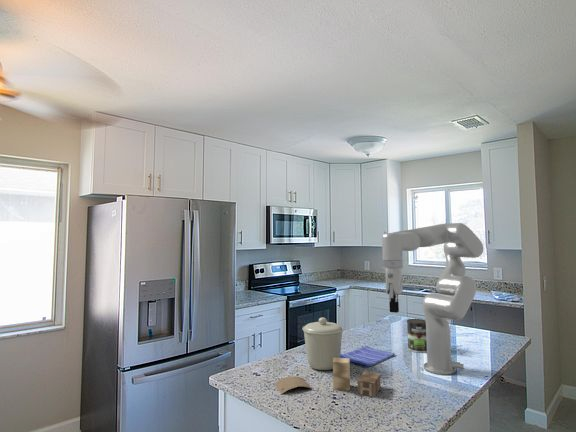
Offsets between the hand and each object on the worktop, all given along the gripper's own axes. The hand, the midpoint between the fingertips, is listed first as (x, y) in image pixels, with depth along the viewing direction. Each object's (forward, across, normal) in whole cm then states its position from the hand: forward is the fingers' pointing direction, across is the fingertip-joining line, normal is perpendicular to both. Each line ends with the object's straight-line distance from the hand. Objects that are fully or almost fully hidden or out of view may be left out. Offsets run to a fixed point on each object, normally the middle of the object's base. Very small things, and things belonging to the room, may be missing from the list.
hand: (394, 311), depth 140 cm
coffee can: (+27, +47, -3) cm, 54 cm away
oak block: (+27, -12, +18) cm, 35 cm away
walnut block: (+25, -16, +8) cm, 30 cm away
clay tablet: (+28, -19, +35) cm, 49 cm away
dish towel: (+28, +25, +18) cm, 42 cm away
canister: (+27, +6, +32) cm, 42 cm away
